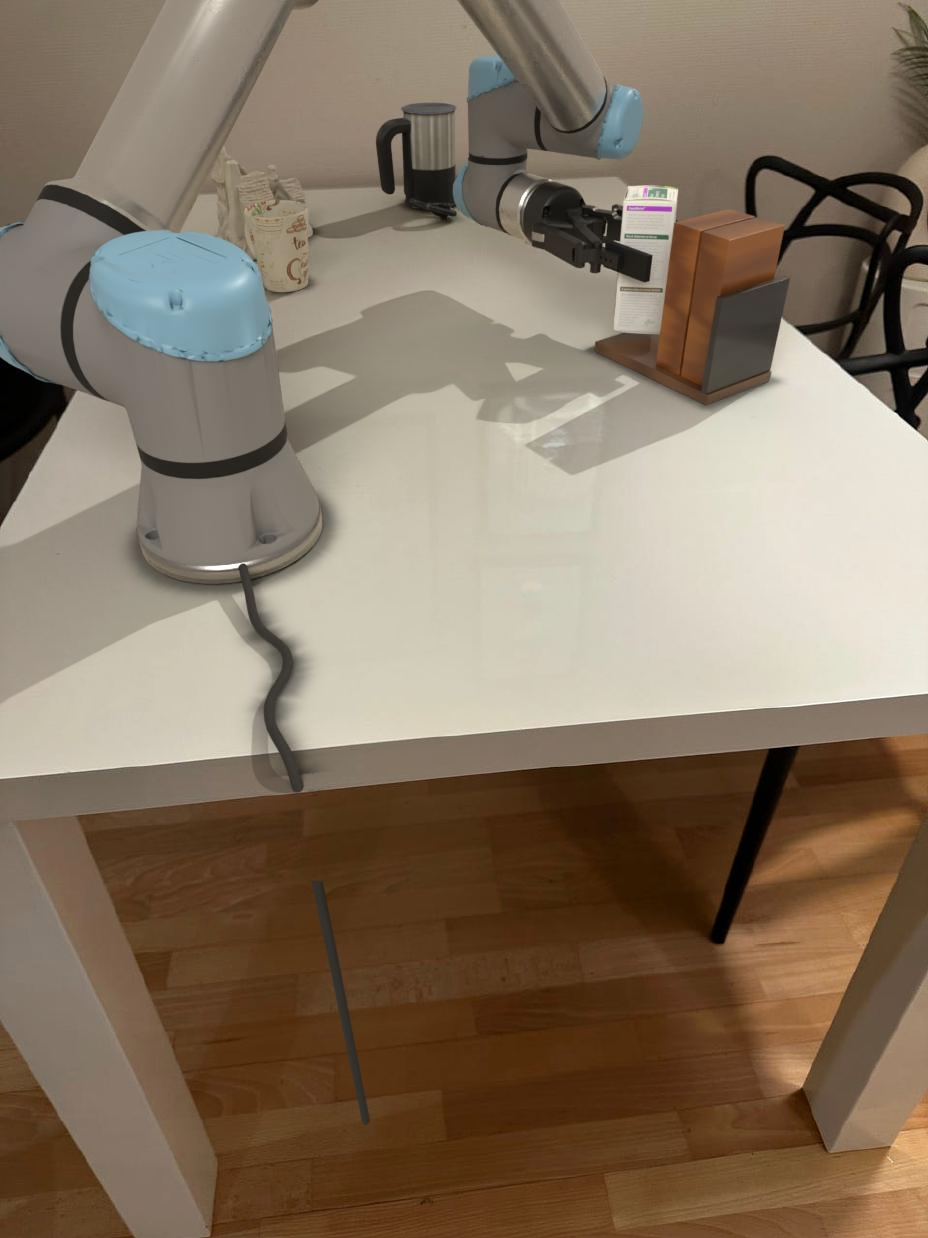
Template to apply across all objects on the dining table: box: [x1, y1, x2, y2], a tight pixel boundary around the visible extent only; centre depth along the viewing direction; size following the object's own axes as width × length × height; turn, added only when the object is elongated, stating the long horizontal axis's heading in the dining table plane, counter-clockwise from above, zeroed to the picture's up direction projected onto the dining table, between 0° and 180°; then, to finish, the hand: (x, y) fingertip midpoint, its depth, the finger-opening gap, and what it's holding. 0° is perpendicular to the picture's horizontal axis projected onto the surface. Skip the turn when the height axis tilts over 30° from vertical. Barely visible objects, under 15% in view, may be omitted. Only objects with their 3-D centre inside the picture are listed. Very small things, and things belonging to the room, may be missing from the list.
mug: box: [244, 200, 309, 293], centre depth 122 cm, size 8×13×10 cm, turn 47°
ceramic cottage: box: [210, 145, 314, 261], centre depth 136 cm, size 16×16×15 cm
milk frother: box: [375, 102, 458, 221], centre depth 147 cm, size 14×16×15 cm
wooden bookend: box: [594, 208, 791, 406], centre depth 97 cm, size 18×10×16 cm, turn 35°
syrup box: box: [612, 184, 679, 334], centre depth 100 cm, size 6×6×14 cm
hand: (677, 260), depth 96 cm, fingers closed on syrup box, 8 cm apart
